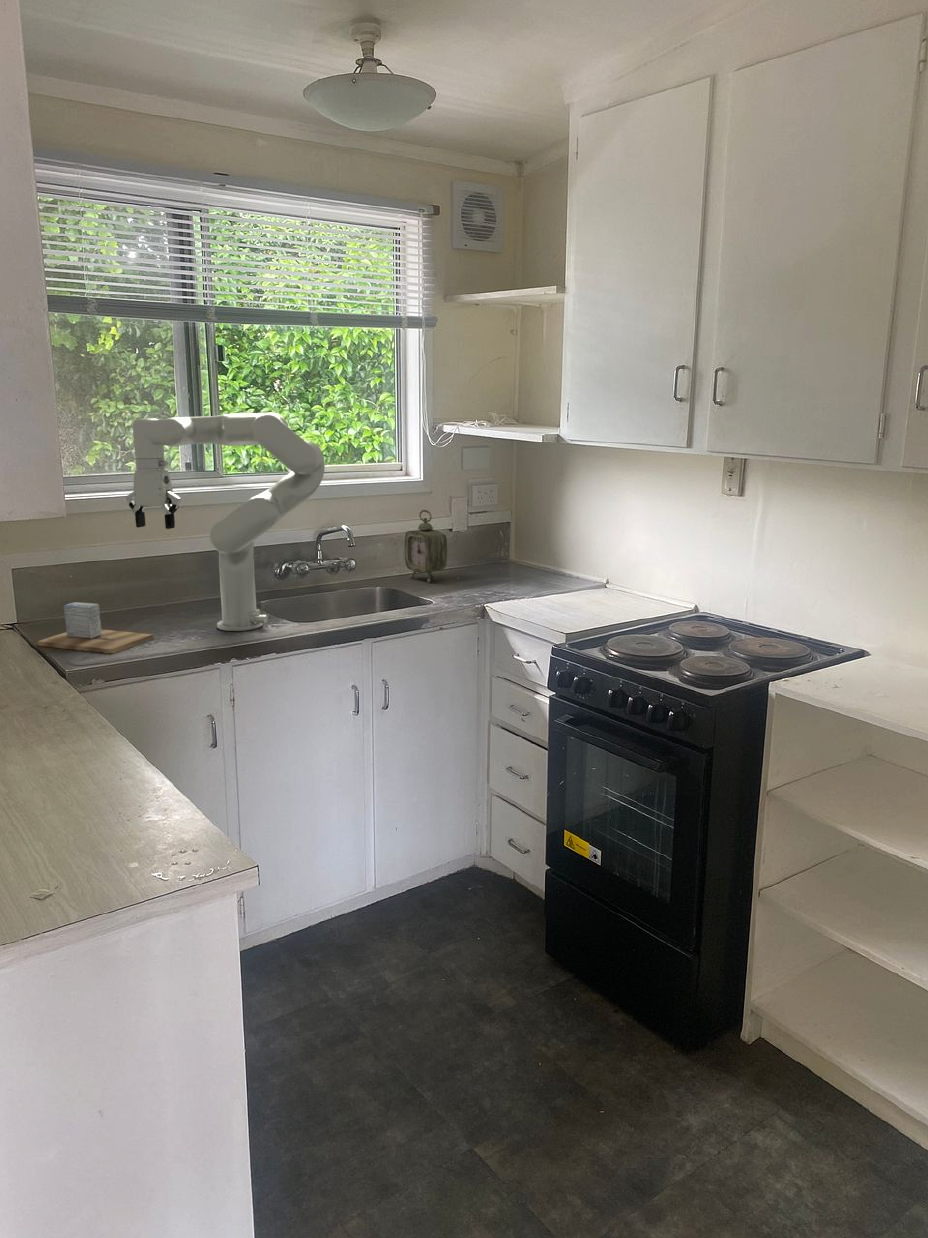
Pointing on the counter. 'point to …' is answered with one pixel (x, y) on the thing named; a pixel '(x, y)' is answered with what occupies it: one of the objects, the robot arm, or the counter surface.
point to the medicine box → (82, 620)
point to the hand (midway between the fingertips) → (155, 527)
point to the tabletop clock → (425, 549)
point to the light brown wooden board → (98, 641)
